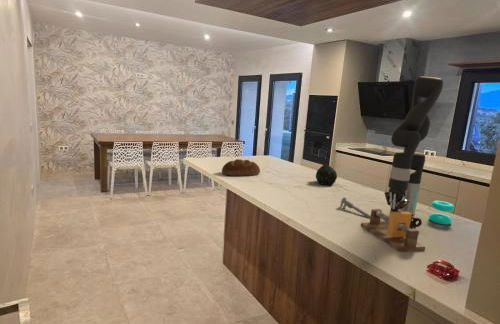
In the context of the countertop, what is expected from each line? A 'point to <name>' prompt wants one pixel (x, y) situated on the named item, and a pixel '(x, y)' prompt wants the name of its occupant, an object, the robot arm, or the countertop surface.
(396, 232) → the collar
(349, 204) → the caliper
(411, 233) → the pipe stand
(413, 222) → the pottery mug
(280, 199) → the countertop surface
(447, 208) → the donuts
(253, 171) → the bread
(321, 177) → the squash
